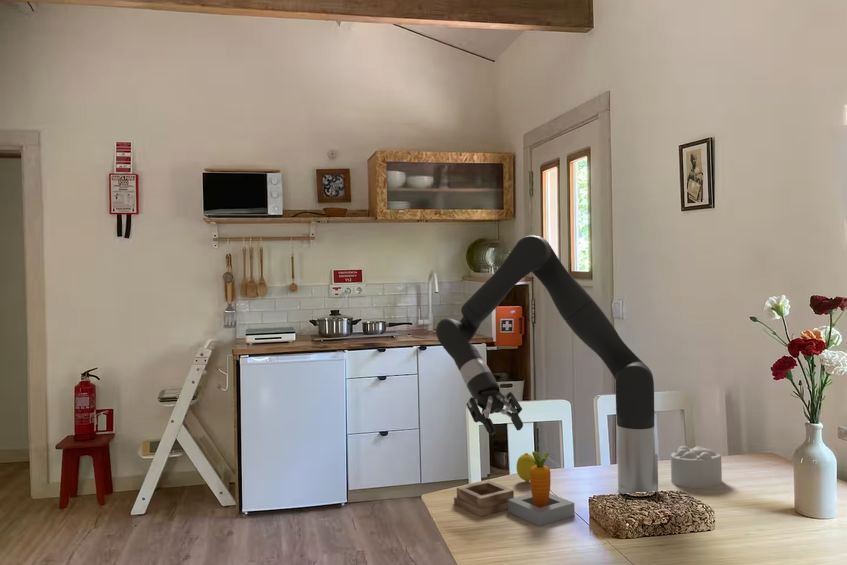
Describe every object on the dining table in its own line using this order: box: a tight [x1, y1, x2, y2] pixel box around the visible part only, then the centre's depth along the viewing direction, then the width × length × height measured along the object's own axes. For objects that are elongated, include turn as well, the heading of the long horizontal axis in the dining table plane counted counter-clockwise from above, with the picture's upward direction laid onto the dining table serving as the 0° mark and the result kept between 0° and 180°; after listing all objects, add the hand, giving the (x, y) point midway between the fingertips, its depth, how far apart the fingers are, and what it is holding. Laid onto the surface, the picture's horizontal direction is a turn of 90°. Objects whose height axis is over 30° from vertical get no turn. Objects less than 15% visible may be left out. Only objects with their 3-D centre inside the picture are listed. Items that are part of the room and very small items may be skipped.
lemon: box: [516, 452, 536, 483], centre depth 183 cm, size 6×6×8 cm
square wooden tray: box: [453, 479, 515, 517], centre depth 166 cm, size 11×11×4 cm
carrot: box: [529, 450, 551, 508], centre depth 159 cm, size 5×5×15 cm
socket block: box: [507, 492, 576, 527], centre depth 159 cm, size 11×11×3 cm
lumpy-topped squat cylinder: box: [670, 445, 723, 489], centre depth 180 cm, size 10×13×9 cm
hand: (507, 431), depth 169 cm, fingers open, 8 cm apart
